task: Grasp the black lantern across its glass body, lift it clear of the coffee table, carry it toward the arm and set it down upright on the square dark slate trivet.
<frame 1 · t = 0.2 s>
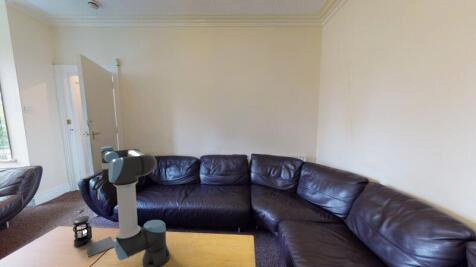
hand: (110, 196, 138), 28 cm above the table, fingers open, 13 cm apart
black lantern: (83, 242, 130), on the table
slate trivet: (100, 246, 126), on the table
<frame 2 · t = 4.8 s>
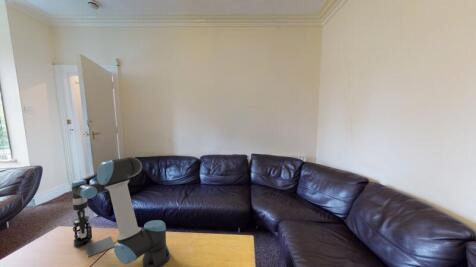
hand: (82, 234, 130), 6 cm above the table, fingers closed on black lantern, 9 cm apart
black lantern: (83, 242, 130), on the table, touching gripper
when the fingers open (8 cm above the table, at t = 11.0 s): black lantern stays where it is, resting on slate trivet.
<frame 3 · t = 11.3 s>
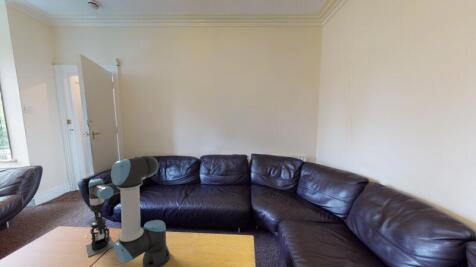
hand: (99, 234, 125), 9 cm above the table, fingers open, 12 cm apart
black lantern: (100, 246, 126), resting on slate trivet
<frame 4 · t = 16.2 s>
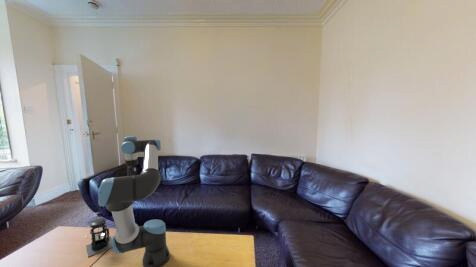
hand: (133, 189, 129), 37 cm above the table, fingers open, 13 cm apart
nothing on the table moved.
at the end: black lantern 0.3 cm from the slate trivet (horizontally); black lantern tilted 0°; black lantern touching slate trivet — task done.
